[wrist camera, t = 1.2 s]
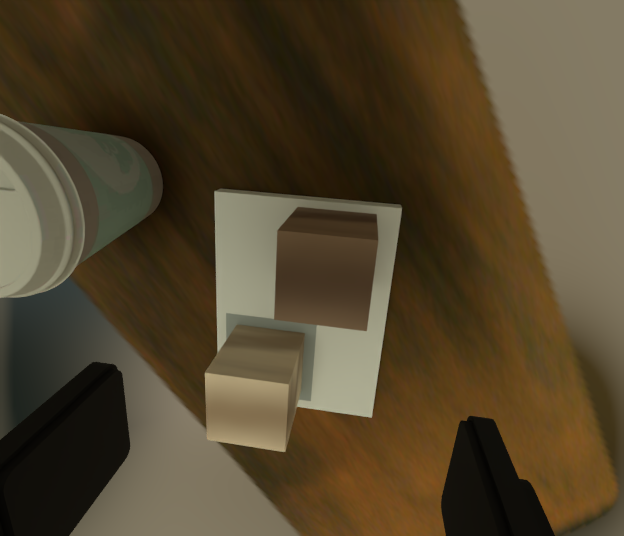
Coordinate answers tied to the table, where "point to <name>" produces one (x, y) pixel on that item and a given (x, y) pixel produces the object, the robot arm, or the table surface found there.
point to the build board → (261, 294)
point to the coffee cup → (66, 200)
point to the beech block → (255, 387)
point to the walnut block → (326, 268)
